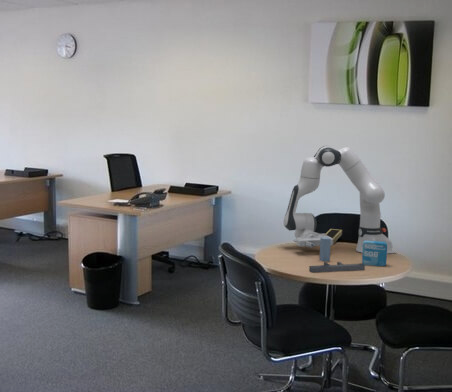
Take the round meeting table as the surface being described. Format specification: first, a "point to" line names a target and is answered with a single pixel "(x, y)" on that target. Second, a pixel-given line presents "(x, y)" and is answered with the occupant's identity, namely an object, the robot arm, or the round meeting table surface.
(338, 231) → the box
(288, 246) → the round meeting table surface
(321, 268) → the rail bracket
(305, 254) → the round meeting table surface
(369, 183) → the robot arm
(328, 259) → the square post
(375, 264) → the blue printed carton
